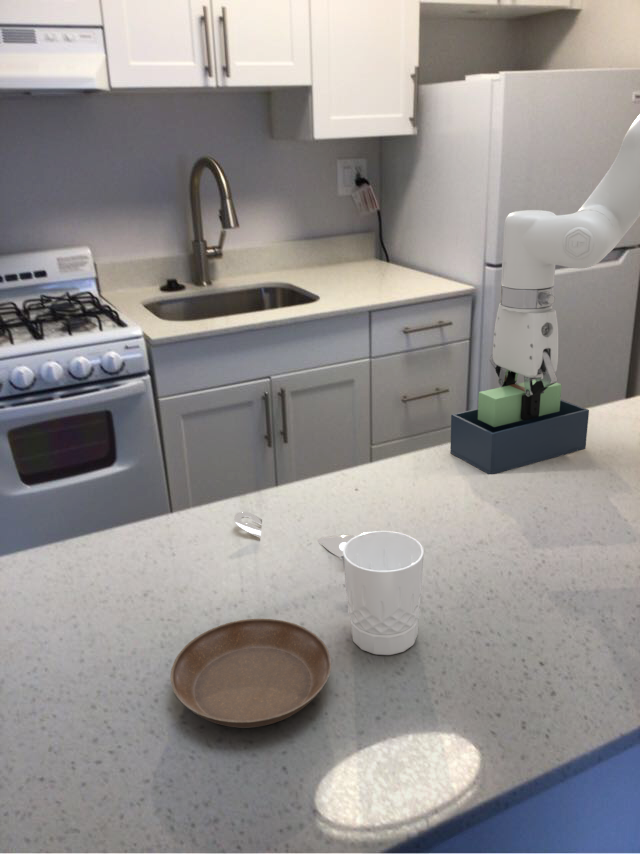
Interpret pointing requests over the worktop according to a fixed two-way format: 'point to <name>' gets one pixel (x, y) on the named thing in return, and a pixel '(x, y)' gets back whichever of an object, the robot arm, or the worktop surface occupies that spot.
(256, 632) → the saucer
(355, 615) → the white cup
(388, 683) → the worktop surface
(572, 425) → the bin
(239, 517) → the ceramic shards
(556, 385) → the light green rectangular block
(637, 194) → the robot arm
